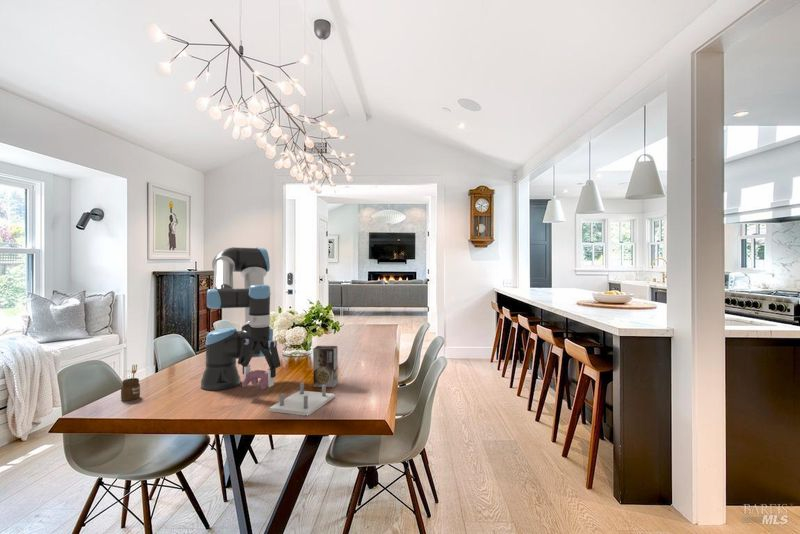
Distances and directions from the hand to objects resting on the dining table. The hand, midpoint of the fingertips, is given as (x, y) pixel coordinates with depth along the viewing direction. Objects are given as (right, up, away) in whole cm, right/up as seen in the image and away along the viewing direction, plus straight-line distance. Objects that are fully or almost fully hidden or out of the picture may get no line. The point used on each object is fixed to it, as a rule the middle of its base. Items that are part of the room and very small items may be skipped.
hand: (258, 384), depth 148 cm
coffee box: (+22, -6, +17) cm, 28 cm away
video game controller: (0, -1, -1) cm, 1 cm away
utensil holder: (-48, -5, -1) cm, 48 cm away
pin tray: (+18, -5, -6) cm, 20 cm away
